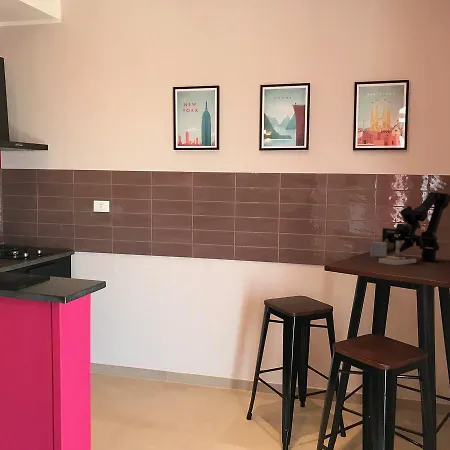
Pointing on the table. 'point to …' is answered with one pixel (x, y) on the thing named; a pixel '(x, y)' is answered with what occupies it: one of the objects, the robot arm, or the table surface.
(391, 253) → the coffee box
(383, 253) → the medicine box
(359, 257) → the table surface
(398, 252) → the handle block
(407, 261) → the shelf lane
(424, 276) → the table surface
